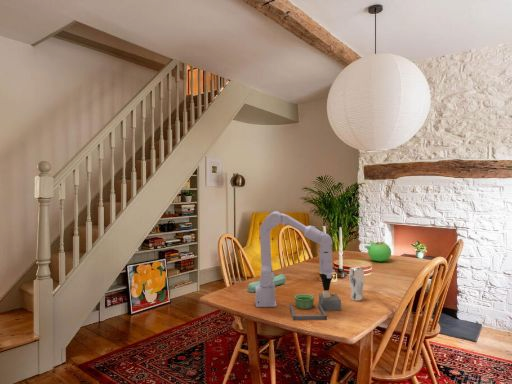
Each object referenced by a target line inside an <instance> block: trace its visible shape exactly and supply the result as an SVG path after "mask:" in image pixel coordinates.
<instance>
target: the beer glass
mask: <svg viewBox="0 0 512 384" xmlns="http://www.w3.org/2000/svg"><path fill="white" fill-rule="evenodd" d="M348 277H349V286H350V291H351V292H350V300H352V301H356V302H361V301H364V296H363V289H364V282H365V272H364V268H363V267H361V266H351V267H349V273H348Z"/></svg>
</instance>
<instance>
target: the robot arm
mask: <svg viewBox="0 0 512 384" xmlns="http://www.w3.org/2000/svg"><path fill="white" fill-rule="evenodd" d="M280 224H281V225H282V226H284V225H285V226H286V225H288V226H290V227H292V228H294V229H295V230H298V231H299V232H302V233H303V236H304V237H305V238H307V239H309V240H311V241H312V242H314V243H316V244H319V250H318V251H319V254H318V256H319V270H318V272H319V277H320V279H321V283H322V288H323V291H329V290H330V286H331V284H332V283H331V282H332V280H333V278H334V276H333V273H335V272H336V270H335V269H334V268H333V251H332V249H333V247H332V245H333V238H332V237H331V236H330V234H328V233H327V232H325V231H321V230H319V229H318V228H316V226H315V225H307V226H306V225H305V224H303V223H302V222H300V221H298V220H296V219H295V218H294V217H292V216H290V215H288V214H285V213H283V212H280V211H279V210H274V211H272V212H270V213H269V214H268V215H267V216H266V217H265V219H264V220H263V221H262V224H261V225H260V227H259V241H260V244H259V245H260V258H261V259H260V263H261V264H260V265H261V267H260V268H261V269H260V276H259V279H258V281H259V282H260V285H259V286H256V292H255V298H254V302H255V308H272V307H273V308H277V303H276V286H275V284H274V283H273V280H274V277H275V273H274V270H273V265H272V248H271V247H272V246H271V231H272V230H273V229H274V228H276V227H277V226H279V225H280Z"/></svg>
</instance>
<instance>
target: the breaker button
mask: <svg viewBox="0 0 512 384" xmlns="http://www.w3.org/2000/svg"><path fill="white" fill-rule="evenodd" d="M321 293H322V297H323V298H330V291H329V290H326V291H325V290H323V291H322V292H321Z"/></svg>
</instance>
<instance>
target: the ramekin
mask: <svg viewBox="0 0 512 384" xmlns="http://www.w3.org/2000/svg"><path fill="white" fill-rule="evenodd" d="M314 300H315V296H313V295H312V294H307V293H302V294H301V293H300V294H299V293H298V294H296V295H294V303H295V307H296V308H298V309H301V310H308V309H309V310H310V309H312V308H313V307H314V302H315V301H314Z"/></svg>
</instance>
